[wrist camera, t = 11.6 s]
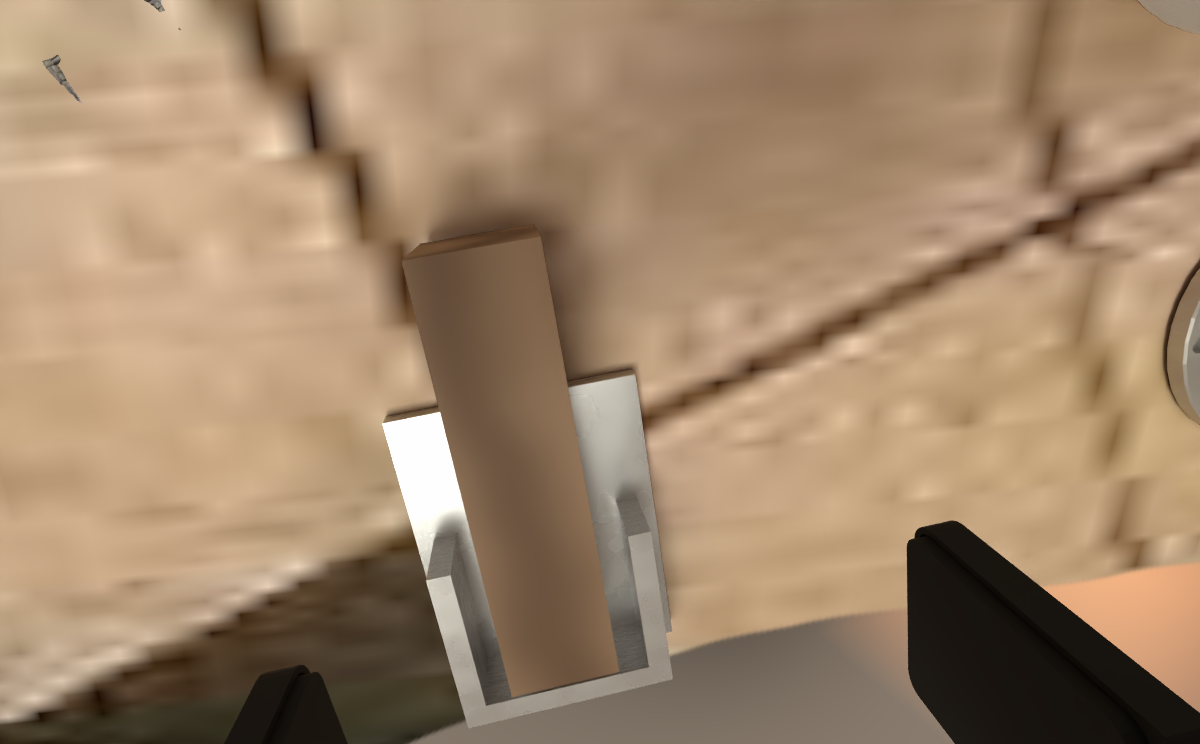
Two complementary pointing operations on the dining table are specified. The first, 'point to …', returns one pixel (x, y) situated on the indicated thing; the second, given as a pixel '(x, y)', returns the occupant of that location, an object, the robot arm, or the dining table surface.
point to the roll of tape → (1176, 13)
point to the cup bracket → (621, 541)
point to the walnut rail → (515, 451)
